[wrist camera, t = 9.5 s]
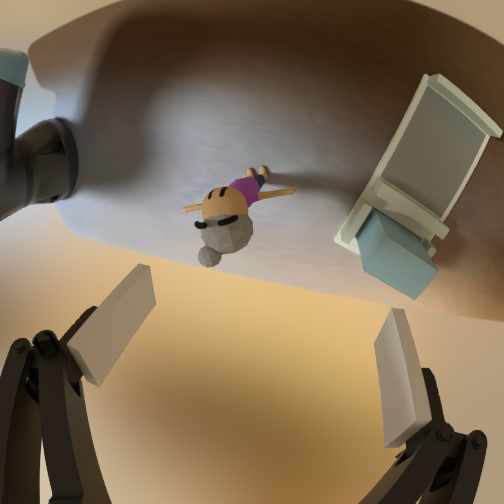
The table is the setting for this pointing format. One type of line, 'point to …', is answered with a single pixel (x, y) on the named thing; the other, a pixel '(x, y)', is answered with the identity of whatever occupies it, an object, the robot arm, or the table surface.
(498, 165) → the table surface
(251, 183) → the toy
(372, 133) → the table surface
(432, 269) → the grey-blue block
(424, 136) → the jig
